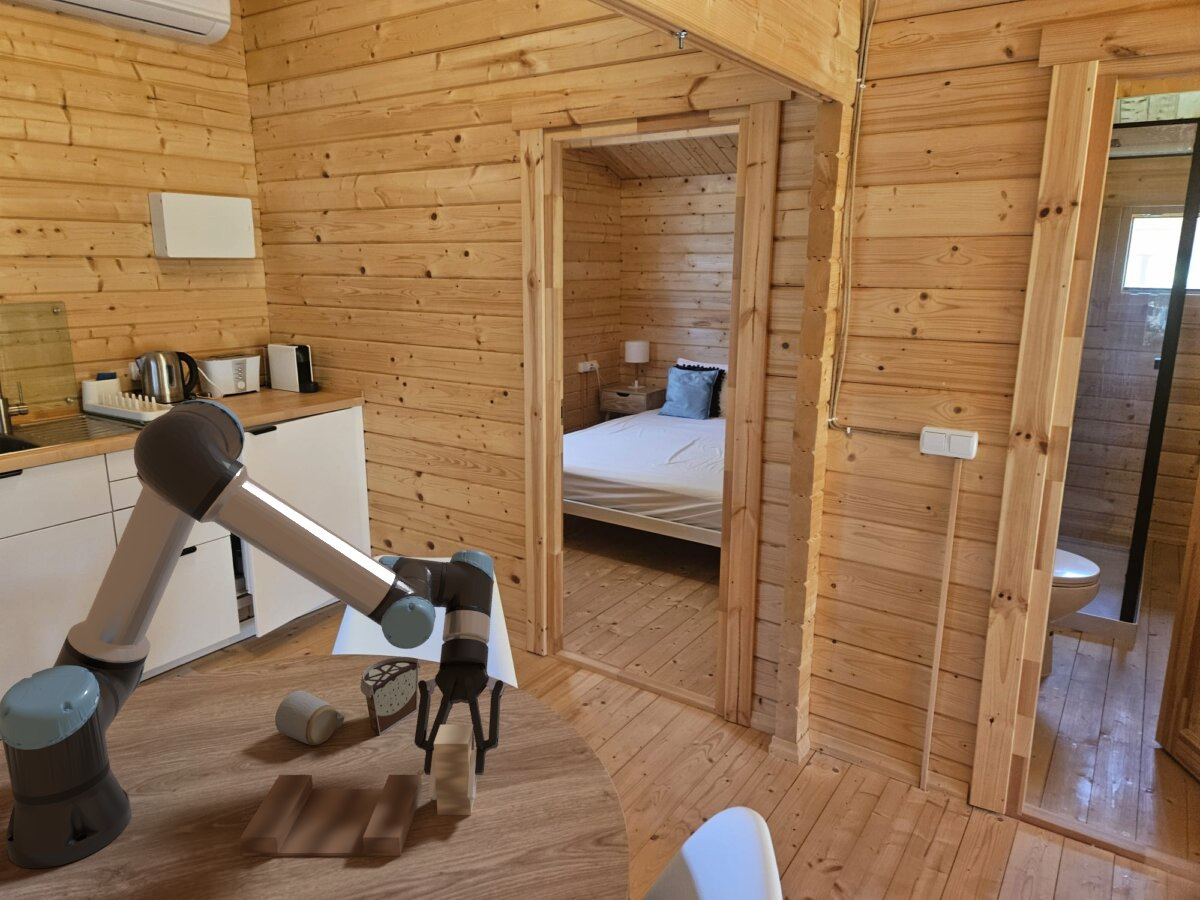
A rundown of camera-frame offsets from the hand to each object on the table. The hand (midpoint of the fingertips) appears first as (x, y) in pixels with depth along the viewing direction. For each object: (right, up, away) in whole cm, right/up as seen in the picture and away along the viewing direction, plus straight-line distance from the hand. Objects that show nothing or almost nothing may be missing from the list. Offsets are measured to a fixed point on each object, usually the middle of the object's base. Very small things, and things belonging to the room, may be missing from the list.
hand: (451, 798), depth 118 cm
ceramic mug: (-28, +1, +23) cm, 37 cm away
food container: (-17, +2, +28) cm, 33 cm away
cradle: (-17, -4, +1) cm, 17 cm away
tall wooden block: (0, -3, +4) cm, 5 cm away
